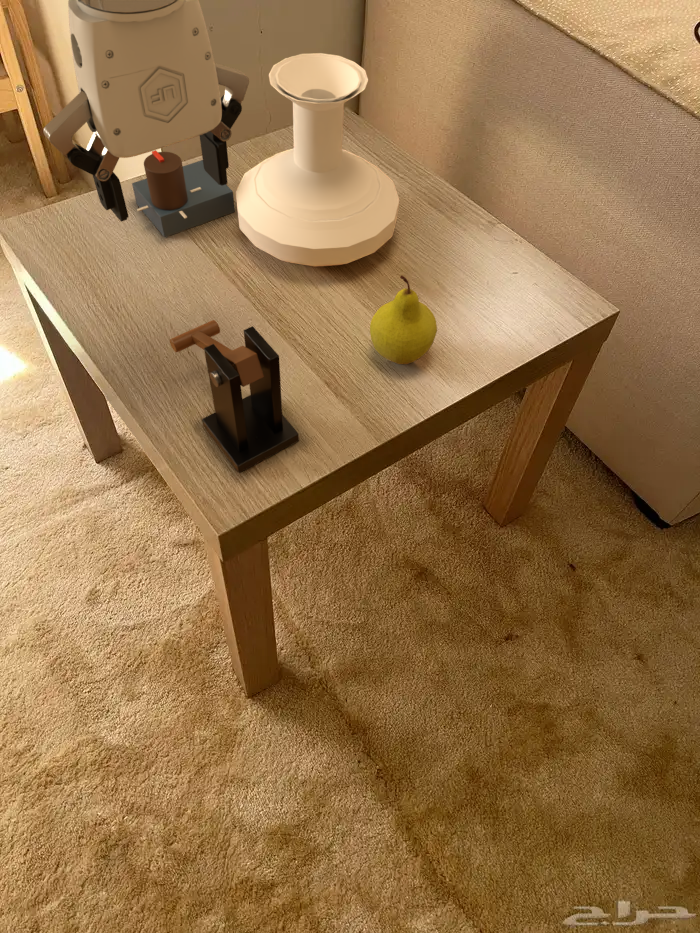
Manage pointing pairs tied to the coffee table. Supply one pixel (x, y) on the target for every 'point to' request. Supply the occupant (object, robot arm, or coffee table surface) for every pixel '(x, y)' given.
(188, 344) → the lever
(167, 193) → the knob
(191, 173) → the panel
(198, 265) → the coffee table surface
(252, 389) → the bracket
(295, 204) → the white vase
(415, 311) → the fruit
